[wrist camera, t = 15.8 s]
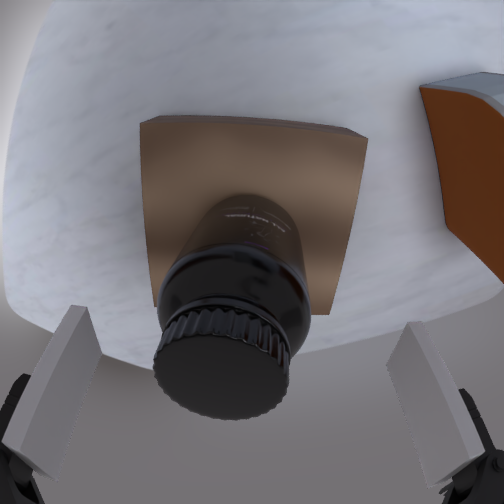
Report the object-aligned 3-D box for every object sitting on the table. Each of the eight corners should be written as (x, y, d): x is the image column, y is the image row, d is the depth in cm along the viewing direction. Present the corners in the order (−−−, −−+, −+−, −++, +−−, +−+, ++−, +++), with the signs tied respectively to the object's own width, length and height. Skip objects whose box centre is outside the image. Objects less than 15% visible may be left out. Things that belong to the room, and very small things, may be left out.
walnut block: (160, 115, 21) (139, 123, 17) (345, 127, 22) (368, 138, 18) (166, 272, 28) (154, 307, 24) (317, 279, 29) (329, 314, 25)
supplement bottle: (279, 176, 19) (290, 275, 8) (312, 269, 21) (340, 417, 11) (179, 213, 20) (90, 330, 9) (220, 296, 23) (185, 440, 12)
